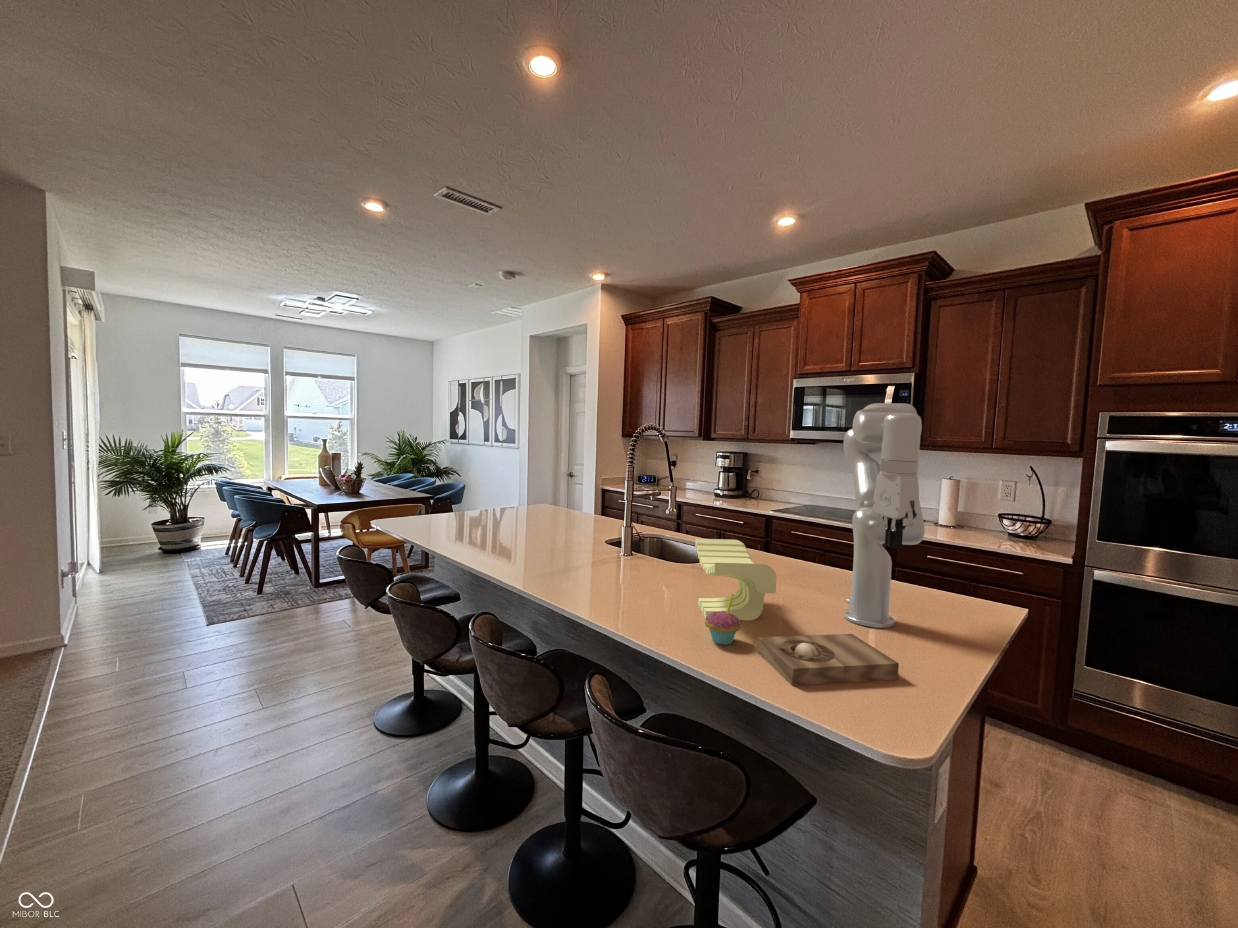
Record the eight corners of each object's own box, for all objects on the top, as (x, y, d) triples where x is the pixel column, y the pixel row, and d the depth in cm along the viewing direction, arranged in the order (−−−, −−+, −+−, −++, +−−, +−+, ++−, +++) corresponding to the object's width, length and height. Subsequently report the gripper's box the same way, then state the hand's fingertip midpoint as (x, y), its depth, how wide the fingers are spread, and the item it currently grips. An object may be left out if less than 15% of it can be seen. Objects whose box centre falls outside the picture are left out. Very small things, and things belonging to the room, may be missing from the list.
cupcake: (734, 634, 130) (737, 587, 129) (744, 648, 121) (746, 598, 121) (701, 633, 130) (703, 587, 129) (708, 647, 121) (710, 598, 120)
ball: (786, 651, 116) (804, 644, 117) (798, 673, 113) (817, 665, 114) (795, 643, 112) (813, 636, 113) (808, 665, 109) (826, 657, 111)
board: (850, 647, 124) (851, 633, 124) (897, 679, 108) (898, 663, 108) (757, 651, 120) (758, 637, 119) (792, 685, 104) (792, 668, 104)
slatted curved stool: (773, 632, 132) (777, 564, 131) (711, 630, 132) (714, 562, 131) (743, 595, 162) (746, 539, 161) (693, 594, 162) (695, 538, 161)
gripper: (863, 464, 124) (858, 538, 126) (906, 471, 109) (899, 556, 111) (892, 464, 125) (887, 538, 127) (938, 471, 110) (931, 555, 112)
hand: (893, 546), depth 119 cm, fingers closed
